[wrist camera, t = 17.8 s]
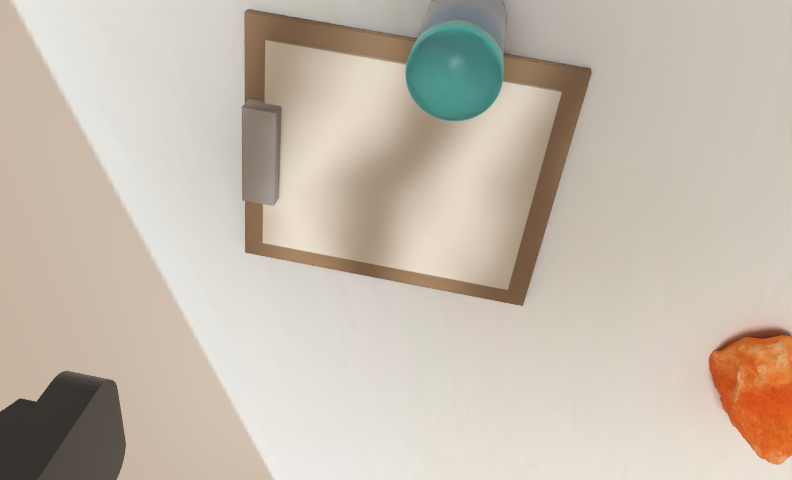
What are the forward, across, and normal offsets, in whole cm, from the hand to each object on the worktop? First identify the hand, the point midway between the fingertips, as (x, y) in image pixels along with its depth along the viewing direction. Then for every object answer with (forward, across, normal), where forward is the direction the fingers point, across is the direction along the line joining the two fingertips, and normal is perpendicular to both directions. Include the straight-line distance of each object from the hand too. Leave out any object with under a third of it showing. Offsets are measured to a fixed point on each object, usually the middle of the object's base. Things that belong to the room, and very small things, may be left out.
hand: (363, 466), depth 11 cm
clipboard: (+23, +2, +8) cm, 25 cm away
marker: (+23, 0, 0) cm, 23 cm away
